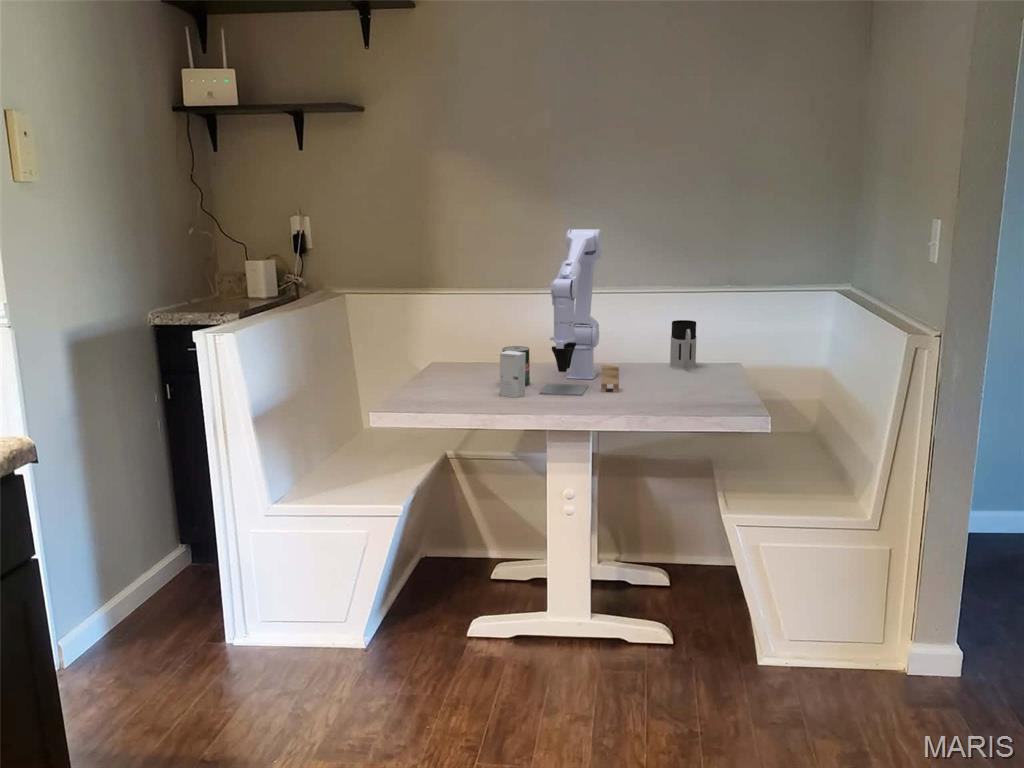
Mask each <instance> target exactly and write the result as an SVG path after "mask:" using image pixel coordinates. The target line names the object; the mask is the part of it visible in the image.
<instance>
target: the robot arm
mask: <svg viewBox="0 0 1024 768" xmlns="http://www.w3.org/2000/svg"><path fill="white" fill-rule="evenodd" d="M565 244H566V245H565V246H566V248H567V250H568V254H567V259H566V260H564V261H563V262H562V263H561V266H560V269H559V272H558V275H557V277H556V278H554V279H553V280H552V281H551V283H550V284H551V285H550V295H551V296H550V297H551V303H552V304H551V305H552V306H553V336H549V340H550V341H553V342H555V346H551V351H552V353H553V355H554V357H555V361H556V366H557V370H558V373H567V371H568V369H569V372H568V375H567V376H566V377H565V378H566V379H569V380H593V379H594V378H595V376H596V375H597V374H598V372H597V371H594V369H595V368H594V367H595V366H594V364H595V363H594V361H595V360H594V348H596V347H597V346H598V345H599V342H600V330H599V329H600V324H599V322H598V321H597V320H596V319H595V317H593V316H592V314H591V312H592V311H591V310H592V298H593V297H592V296H593V285H594V284H593V283H594V272H595V271H594V270H595V264H596V261H597V260H599V259H601V257H602V256H601V255H602V249H603V233H602V231H601V229H600V228H596V229H594V228H593V229H592V228H591V229H590V228H589V229H587V228H586V229H583V228H582V229H581V228H580V229H577V228H575V229H573V228H568V230H567V231H566V236H565Z"/></svg>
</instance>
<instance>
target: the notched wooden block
mask: <svg viewBox="0 0 1024 768" xmlns="http://www.w3.org/2000/svg"><path fill="white" fill-rule="evenodd" d="M601 366H602V367H600V368H601V370H600V371H601V376H600V377H601V379H600V381H601V382H600V383H601V385H600V386H601V387H600V389H601V390H600V391H601V393H606V392H607V389H608V385H613V386H612V387H613V388H612V393H618V391H619V388H620V387H619V386H620V381H619V379H620V366H619V364H614V365H613V364H602V365H601Z"/></svg>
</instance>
